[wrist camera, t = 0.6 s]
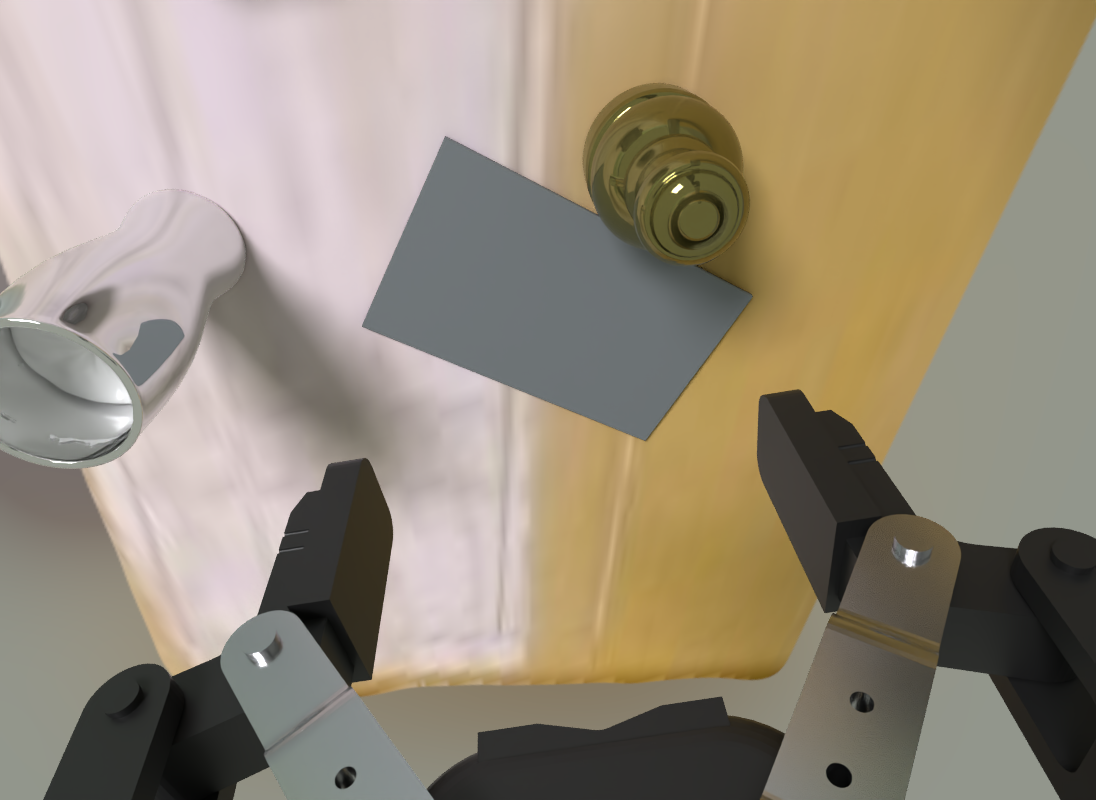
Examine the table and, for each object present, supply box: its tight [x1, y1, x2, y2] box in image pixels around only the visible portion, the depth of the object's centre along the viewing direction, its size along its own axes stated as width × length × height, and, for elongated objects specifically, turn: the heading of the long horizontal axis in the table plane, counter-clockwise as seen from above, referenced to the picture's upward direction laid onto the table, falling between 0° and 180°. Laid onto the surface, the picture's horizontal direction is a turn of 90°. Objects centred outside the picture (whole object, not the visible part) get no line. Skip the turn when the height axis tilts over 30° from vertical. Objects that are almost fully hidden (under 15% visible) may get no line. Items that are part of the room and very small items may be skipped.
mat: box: [362, 136, 753, 440], centre depth 41 cm, size 12×20×1 cm, turn 62°
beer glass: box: [0, 189, 246, 469], centre depth 31 cm, size 7×7×15 cm
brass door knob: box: [583, 83, 750, 266], centre depth 33 cm, size 7×8×10 cm
